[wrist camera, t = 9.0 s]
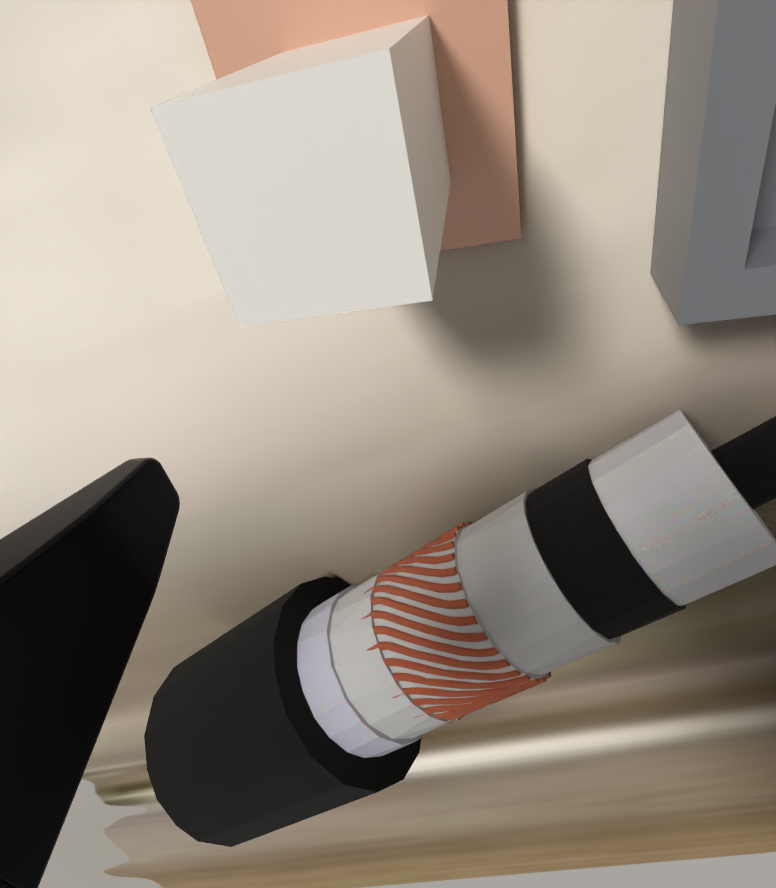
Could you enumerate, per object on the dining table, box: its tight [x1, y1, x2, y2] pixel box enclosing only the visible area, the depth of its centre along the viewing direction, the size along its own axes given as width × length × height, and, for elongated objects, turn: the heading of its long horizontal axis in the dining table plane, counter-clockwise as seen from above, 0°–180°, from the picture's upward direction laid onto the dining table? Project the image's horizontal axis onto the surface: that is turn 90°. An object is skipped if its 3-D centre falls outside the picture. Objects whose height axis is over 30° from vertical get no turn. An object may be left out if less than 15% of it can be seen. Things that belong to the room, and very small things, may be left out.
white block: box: [150, 15, 451, 327], centre depth 13 cm, size 4×4×8 cm
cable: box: [144, 409, 776, 847], centre depth 25 cm, size 10×34×10 cm, turn 134°
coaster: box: [191, 0, 521, 251], centre depth 16 cm, size 8×8×1 cm
